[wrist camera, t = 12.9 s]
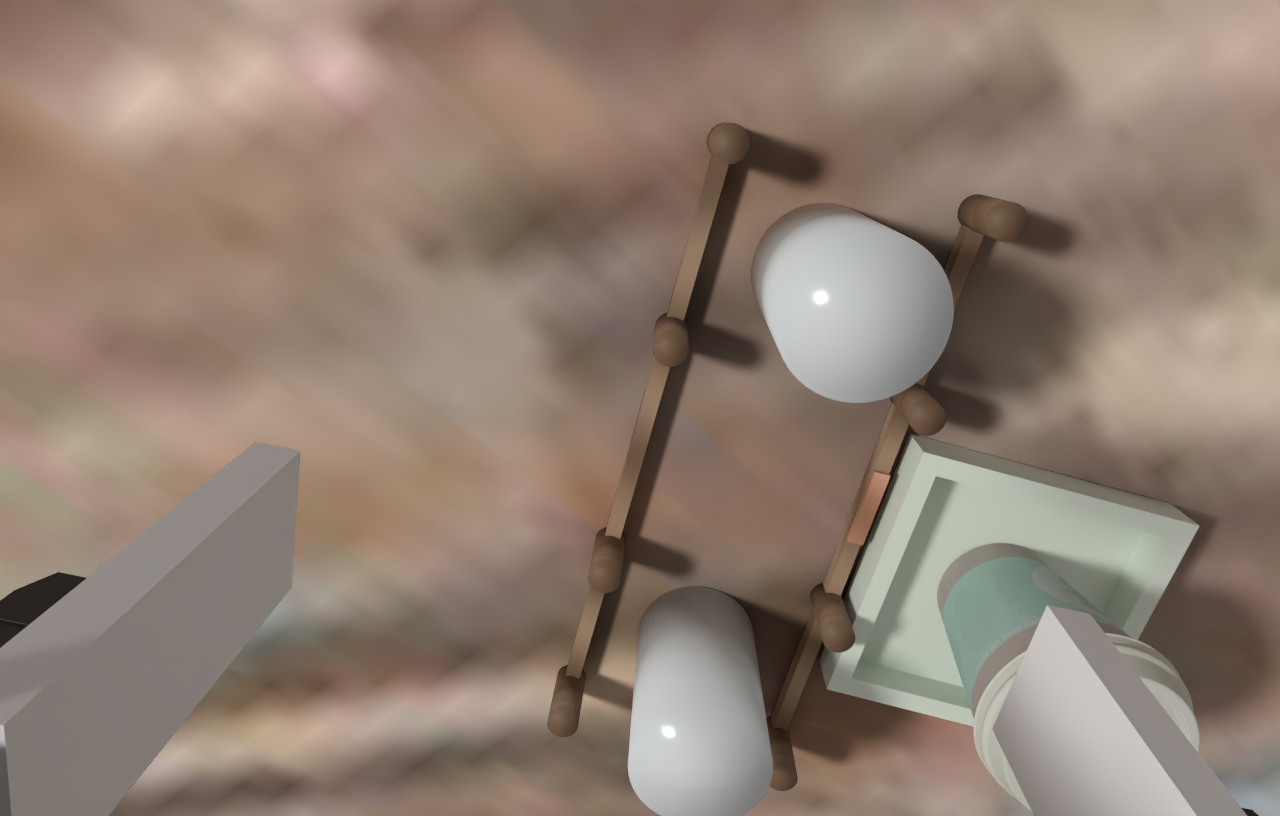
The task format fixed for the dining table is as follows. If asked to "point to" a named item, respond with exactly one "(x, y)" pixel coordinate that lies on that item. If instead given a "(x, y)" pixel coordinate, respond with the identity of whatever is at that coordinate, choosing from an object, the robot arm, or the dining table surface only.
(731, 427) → the dining table surface
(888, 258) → the white rounded block
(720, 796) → the white rounded capsule
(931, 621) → the tray
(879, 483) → the rack
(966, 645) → the coffee cup
